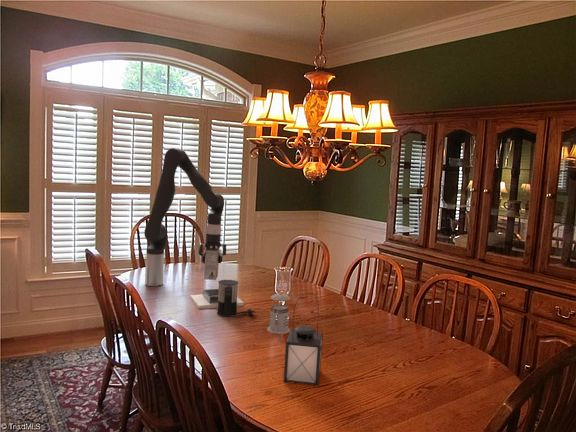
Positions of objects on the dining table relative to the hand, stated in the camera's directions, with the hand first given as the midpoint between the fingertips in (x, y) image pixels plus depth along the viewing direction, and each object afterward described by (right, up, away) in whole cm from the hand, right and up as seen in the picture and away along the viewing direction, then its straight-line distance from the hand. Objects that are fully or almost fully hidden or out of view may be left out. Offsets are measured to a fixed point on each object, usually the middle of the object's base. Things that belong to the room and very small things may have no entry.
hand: (211, 263), depth 245 cm
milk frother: (+16, -20, -33) cm, 42 cm away
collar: (+5, -16, -16) cm, 23 cm away
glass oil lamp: (+36, -23, -51) cm, 66 cm away
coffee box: (-1, -8, +1) cm, 8 cm away
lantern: (+45, -28, -92) cm, 106 cm away
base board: (+5, -17, -16) cm, 24 cm away
